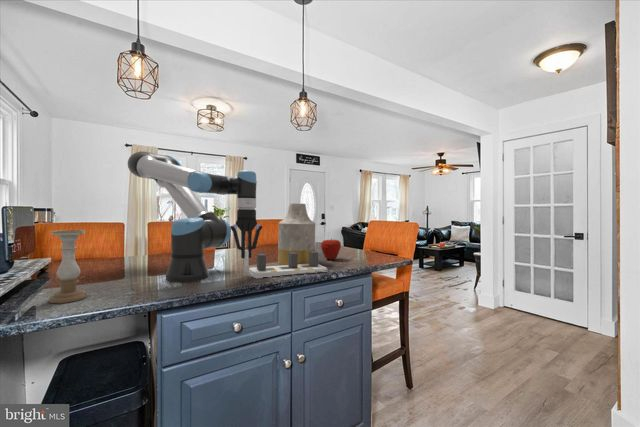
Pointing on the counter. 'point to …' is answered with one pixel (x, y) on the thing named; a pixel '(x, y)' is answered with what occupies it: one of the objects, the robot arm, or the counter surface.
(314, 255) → the knob
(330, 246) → the apple
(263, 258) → the block
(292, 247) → the vase
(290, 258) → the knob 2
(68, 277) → the candle holder
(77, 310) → the counter surface
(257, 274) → the switch board
